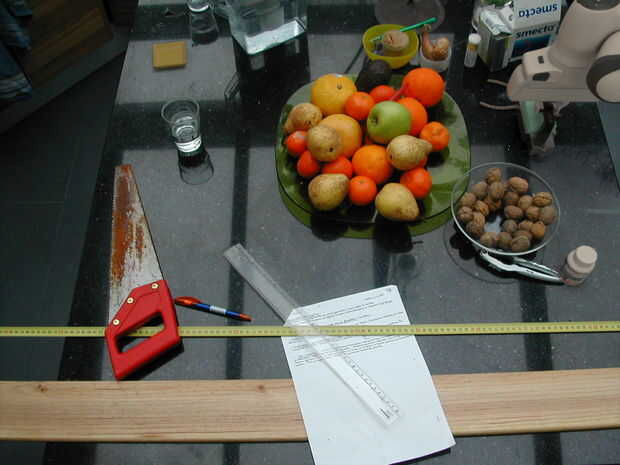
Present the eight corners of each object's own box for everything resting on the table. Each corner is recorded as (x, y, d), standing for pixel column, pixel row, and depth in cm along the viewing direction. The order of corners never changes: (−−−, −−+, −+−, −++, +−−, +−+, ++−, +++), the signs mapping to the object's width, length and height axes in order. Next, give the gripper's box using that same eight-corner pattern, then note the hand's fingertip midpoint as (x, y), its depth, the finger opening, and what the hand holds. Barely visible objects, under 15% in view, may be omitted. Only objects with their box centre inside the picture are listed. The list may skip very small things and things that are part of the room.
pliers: (481, 77, 145) (562, 87, 142) (480, 80, 146) (560, 89, 143) (479, 105, 140) (563, 115, 138) (479, 108, 141) (561, 118, 138)
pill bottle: (570, 258, 119) (586, 237, 111) (588, 277, 117) (607, 257, 109) (551, 271, 118) (567, 250, 110) (570, 290, 115) (587, 270, 108)
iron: (515, 109, 138) (527, 80, 130) (544, 110, 138) (558, 81, 129) (525, 159, 130) (538, 131, 122) (556, 159, 130) (571, 132, 122)
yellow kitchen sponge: (186, 46, 155) (185, 40, 153) (187, 68, 150) (186, 62, 149) (155, 50, 154) (153, 44, 152) (155, 72, 150) (153, 66, 148)
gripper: (616, 53, 117) (589, 101, 129) (516, 53, 118) (498, 100, 129) (623, 75, 114) (595, 122, 125) (520, 74, 114) (502, 121, 126)
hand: (545, 111), depth 127 cm, fingers closed on iron, 2 cm apart
